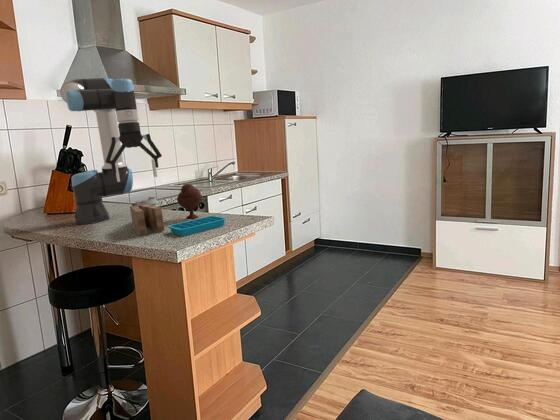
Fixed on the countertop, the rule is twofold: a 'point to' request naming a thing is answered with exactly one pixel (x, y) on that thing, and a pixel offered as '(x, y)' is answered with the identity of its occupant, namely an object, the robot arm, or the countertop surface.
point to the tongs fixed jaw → (138, 219)
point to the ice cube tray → (197, 225)
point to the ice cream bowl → (189, 199)
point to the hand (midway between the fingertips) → (137, 179)
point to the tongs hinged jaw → (153, 217)
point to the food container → (149, 201)
